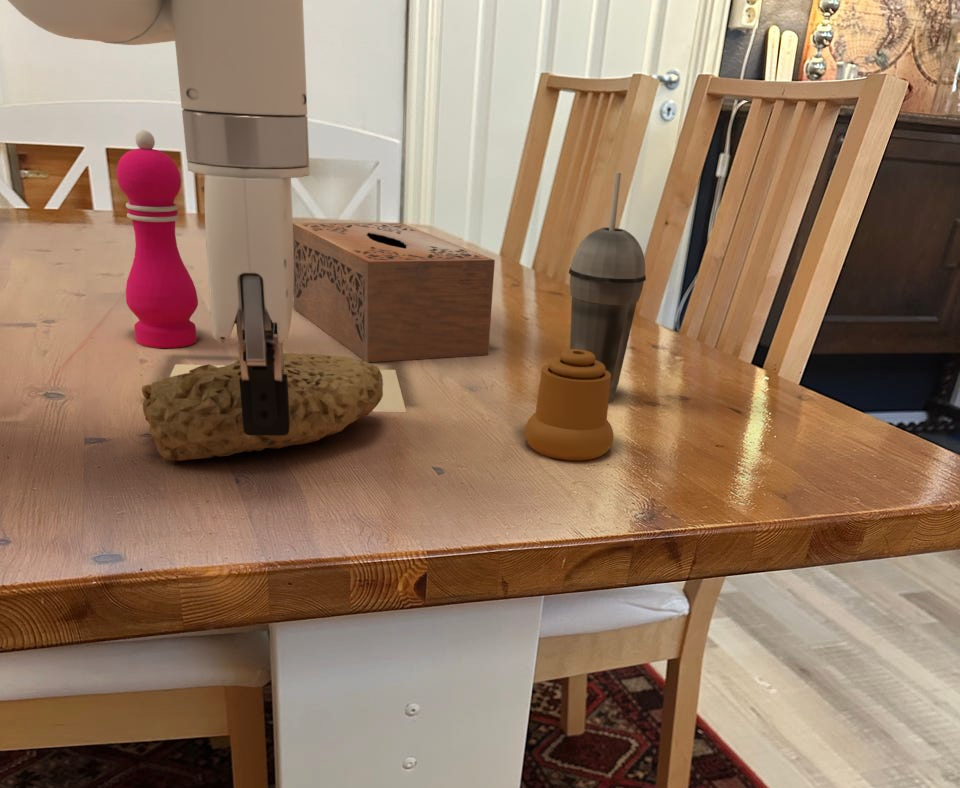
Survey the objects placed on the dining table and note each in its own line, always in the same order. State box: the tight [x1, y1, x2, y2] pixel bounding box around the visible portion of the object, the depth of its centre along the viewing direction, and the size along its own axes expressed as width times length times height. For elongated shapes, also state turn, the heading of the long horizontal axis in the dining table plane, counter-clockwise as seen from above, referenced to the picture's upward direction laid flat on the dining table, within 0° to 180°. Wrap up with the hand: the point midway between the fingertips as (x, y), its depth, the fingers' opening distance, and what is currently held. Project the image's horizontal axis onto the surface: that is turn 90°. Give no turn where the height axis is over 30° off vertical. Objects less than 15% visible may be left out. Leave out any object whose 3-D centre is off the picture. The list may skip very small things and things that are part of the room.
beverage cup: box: [568, 172, 647, 403], centre depth 88 cm, size 7×7×20 cm
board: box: [169, 363, 407, 414], centre depth 89 cm, size 22×14×1 cm, turn 99°
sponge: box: [141, 352, 383, 461], centre depth 74 cm, size 13×8×20 cm
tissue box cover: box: [293, 222, 496, 363], centre depth 108 cm, size 26×14×10 cm, turn 27°
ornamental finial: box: [524, 348, 614, 462], centre depth 77 cm, size 8×8×8 cm
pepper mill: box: [116, 129, 199, 349], centre depth 95 cm, size 7×7×20 cm
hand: (267, 431), depth 67 cm, fingers closed
